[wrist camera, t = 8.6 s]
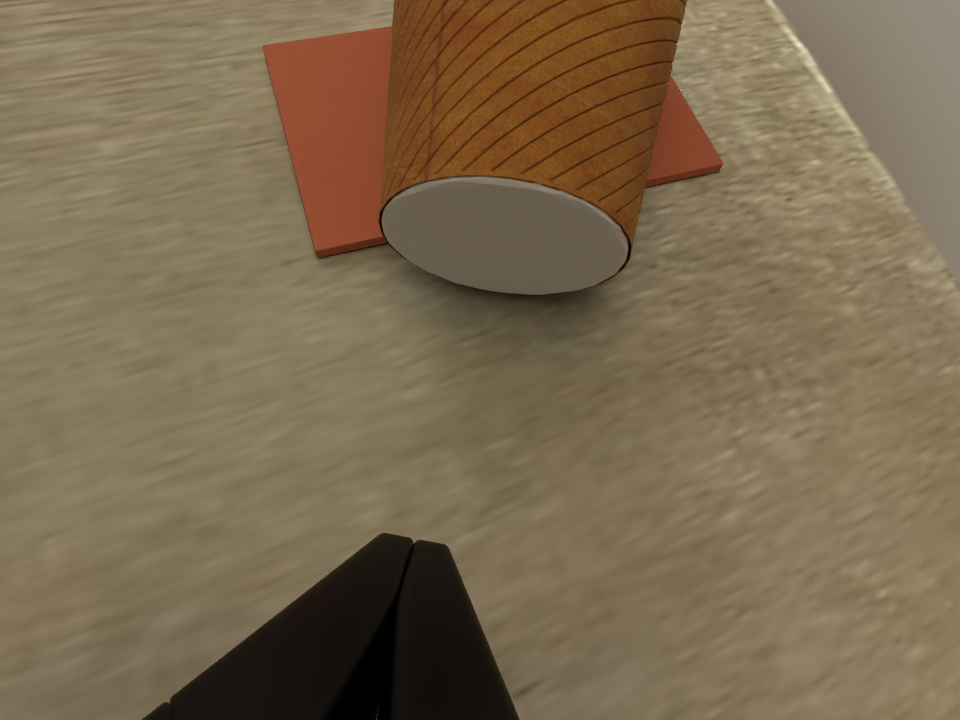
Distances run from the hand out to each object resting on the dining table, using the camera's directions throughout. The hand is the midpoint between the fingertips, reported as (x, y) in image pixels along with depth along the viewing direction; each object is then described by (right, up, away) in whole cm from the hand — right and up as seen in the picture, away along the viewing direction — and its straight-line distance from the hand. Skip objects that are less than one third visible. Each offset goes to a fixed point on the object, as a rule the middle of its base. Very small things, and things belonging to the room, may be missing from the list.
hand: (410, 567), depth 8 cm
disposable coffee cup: (+1, +5, +8) cm, 10 cm away
